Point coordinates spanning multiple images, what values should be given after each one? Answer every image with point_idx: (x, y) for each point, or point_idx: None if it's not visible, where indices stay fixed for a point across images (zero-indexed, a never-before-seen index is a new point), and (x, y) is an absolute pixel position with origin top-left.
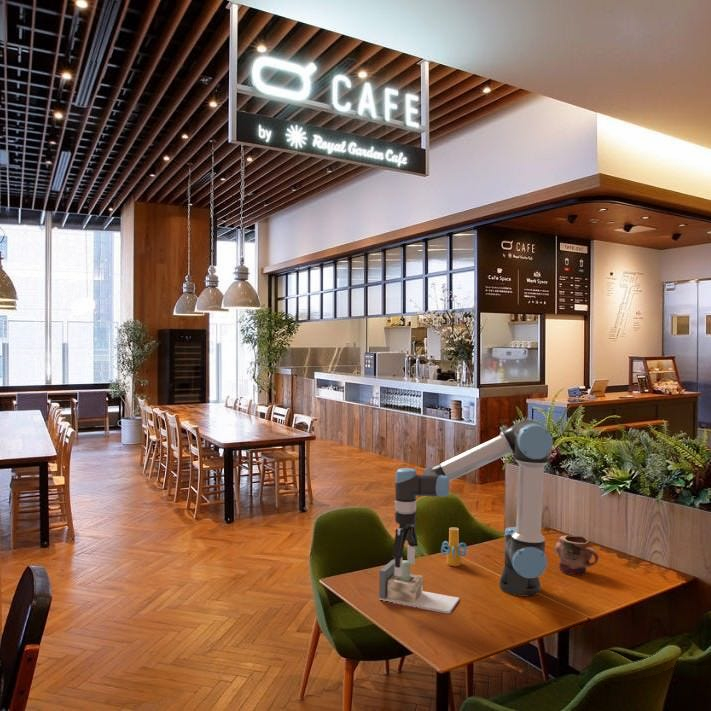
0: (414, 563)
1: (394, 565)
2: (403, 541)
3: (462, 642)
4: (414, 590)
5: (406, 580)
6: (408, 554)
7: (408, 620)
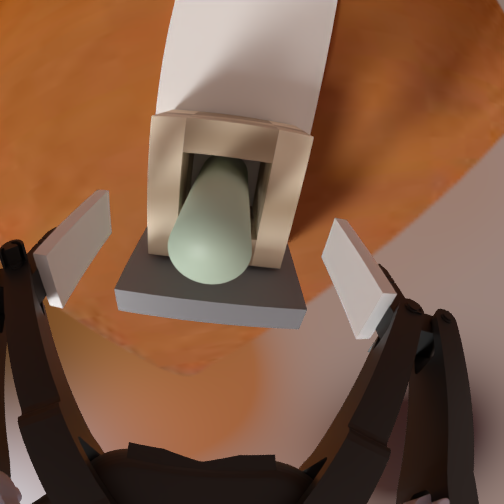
0: (101, 191)
1: (163, 286)
2: (392, 427)
3: (479, 15)
4: (295, 129)
5: (245, 186)
6: (87, 259)
7: (413, 135)
